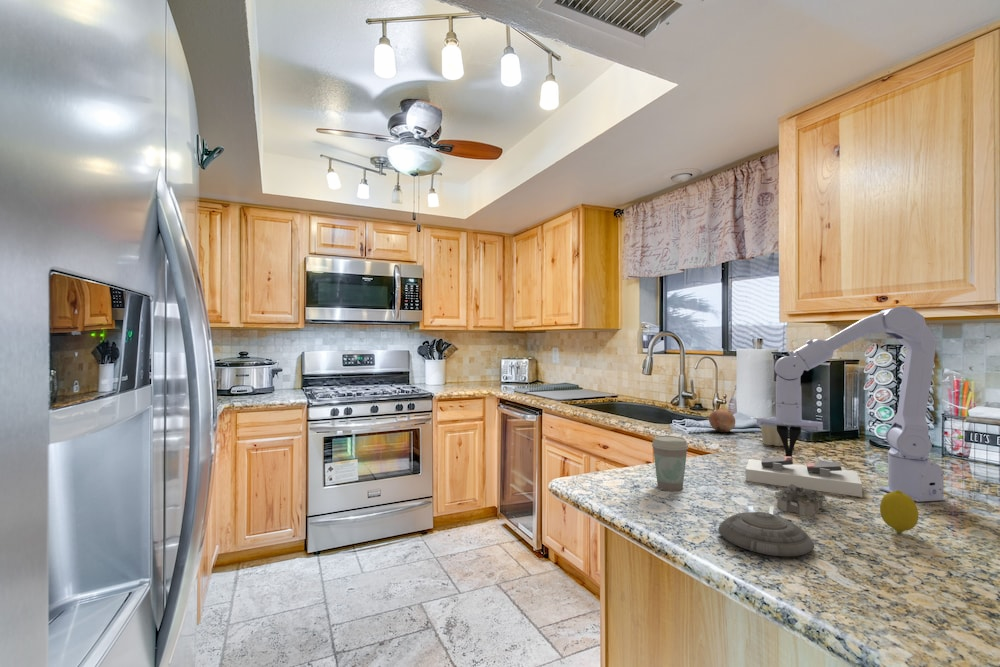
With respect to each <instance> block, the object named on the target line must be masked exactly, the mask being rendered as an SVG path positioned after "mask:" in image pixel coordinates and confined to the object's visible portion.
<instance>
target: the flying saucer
mask: <svg viewBox="0 0 1000 667" xmlns="http://www.w3.org/2000/svg"><path fill="white" fill-rule="evenodd" d="M717 530H718V532H719V534H720V535H721V537H723V538H724V539H725V540H726V541H728V542H729V543H732V544H733V545H736V546H737V547H739V548H742V549H744V550H747V551H751V552H754V553H757V554H762V555H768V556H774V557H796V556H803V555H806V554H808V553H811V552H812V551H813V550H814V549H815V544H814V542H813V539H812V538H811V537H810V536H809V534H807V532H806V531H805V530H803V529H802V528H801V527H800V526H798V525H797V524H795V523H793V522H792V521H790V520H788V519H786V518H783V517H782V516H777V515H775V514H772V513H769V512H764V511H749V512H740V513H736V514H733V515H731V516H729V517H727V518H726V519H724V520H723V521H722V522H721V523H720V525H719V526H718V529H717Z"/></svg>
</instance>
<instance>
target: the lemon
mask: <svg viewBox="0 0 1000 667" xmlns="http://www.w3.org/2000/svg"><path fill="white" fill-rule="evenodd" d="M879 513H880V516H881V518H882V520H883V521H884V523H885V524H886V525H887V526H888V527H890V528H892V529H893V530H894V531H895V532H896V533H898V534H902V533H903V532H905V531H911V530H912V529H913V528H914V527H916V525H917V524H918V521H919V511H918V507H917V504H916V501H914V500H913V499H912V498H910V497H909V496H908V495H906V494H904V493H902V492H901V491H900V490H896V491H895V492H887V493H886V494H884V496H883V497H882V498H881V501H880V503H879Z"/></svg>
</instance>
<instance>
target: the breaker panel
mask: <svg viewBox="0 0 1000 667" xmlns="http://www.w3.org/2000/svg"><path fill="white" fill-rule="evenodd" d="M773 458H775V456H774V457H773ZM761 461H762V459H754V458H749V459H748V461H747V465H746V467H745V481H746V482H750V483H751V482H753V483H758V484H760V483H761V484H766V485H767V484H768V485H774V486H780V487H786V488H787V487H789V486H790V485H791V484H793V485H795V486H797V487H799V488H802V487H803V488H805V489H808V490H810V491H817V492H822V493H823V492H824V493H830V494H840V495H845V496H852V497H853V496H854V497H860V498H863V483H862V481H861V479H860V476H859V474H858V473H857V471H856V470H855V471H854V470H849V469H846V470H842V471H830V469H824V468H820V471H814V472H808V470H807V465H805V464H804V465H803V464H794V463H793V464H792V465H782V463H773V466H762V464H761ZM817 463H821V462H818V461H817Z"/></svg>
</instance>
